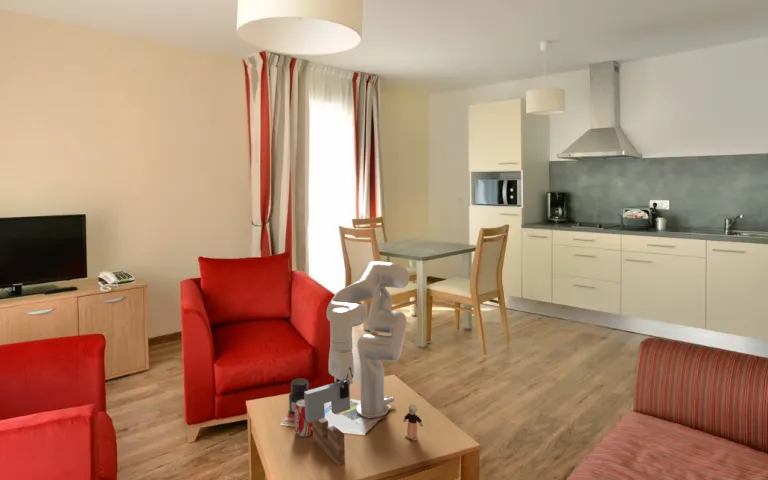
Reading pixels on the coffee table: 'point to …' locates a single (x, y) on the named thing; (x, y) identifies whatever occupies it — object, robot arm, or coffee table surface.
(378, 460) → the coffee table surface
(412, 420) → the grandmother figurine
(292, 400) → the ink bottle
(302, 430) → the soda can
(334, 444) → the walnut slotted plate
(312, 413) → the grey slotted plate
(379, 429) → the coffee table surface
